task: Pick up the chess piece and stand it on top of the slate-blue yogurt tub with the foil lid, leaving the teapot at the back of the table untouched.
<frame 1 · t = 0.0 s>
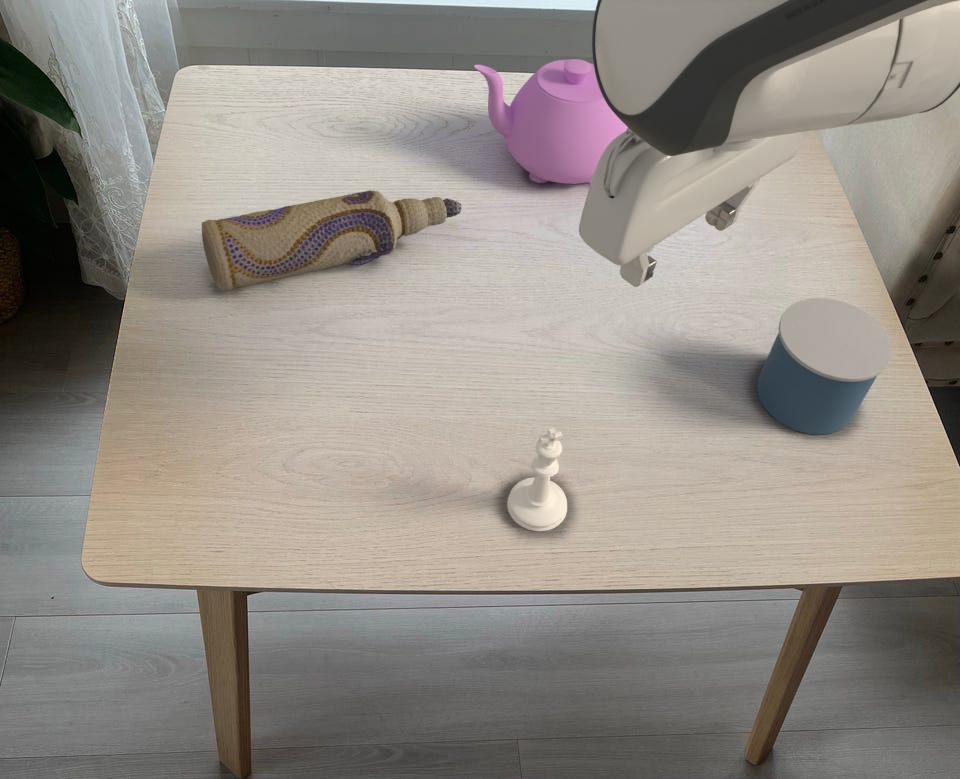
hand: (678, 249, 67), 21 cm above the table, tool pointing down, fingers open, 8 cm apart
teapot: (554, 162, 109), on the table
chess piece: (536, 507, 78), on the table
yogurt tub: (805, 396, 88), on the table
decorative bottle: (334, 264, 95), on the table
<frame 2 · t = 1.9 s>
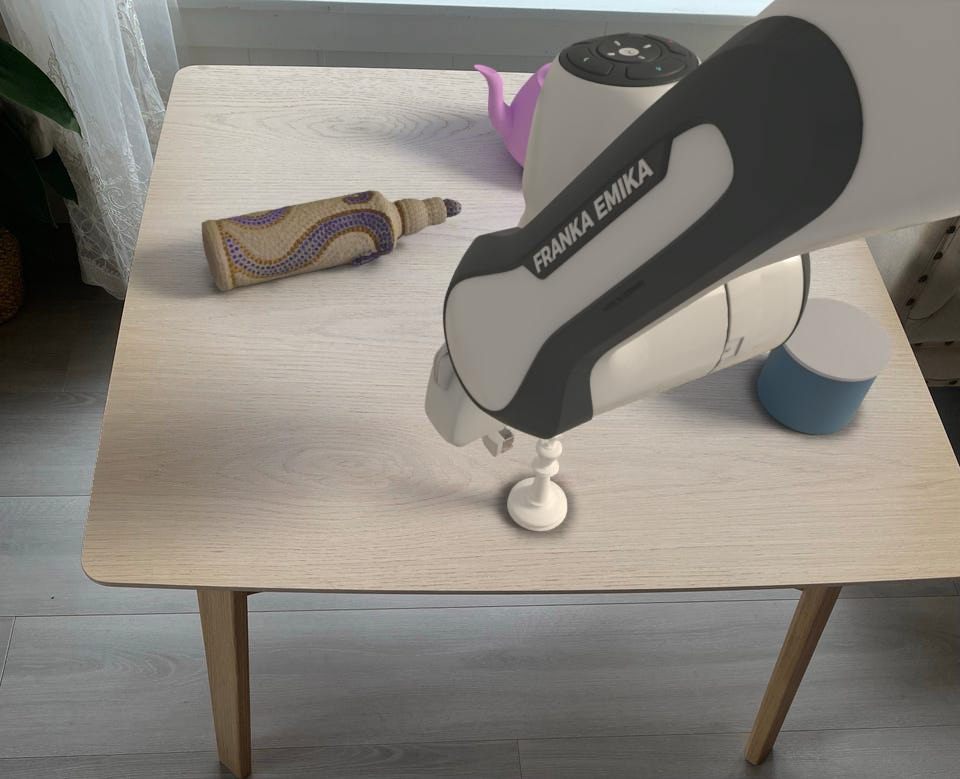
hand: (550, 421, 70), 11 cm above the table, tool pointing down, fingers open, 8 cm apart
nothing on the table moved.
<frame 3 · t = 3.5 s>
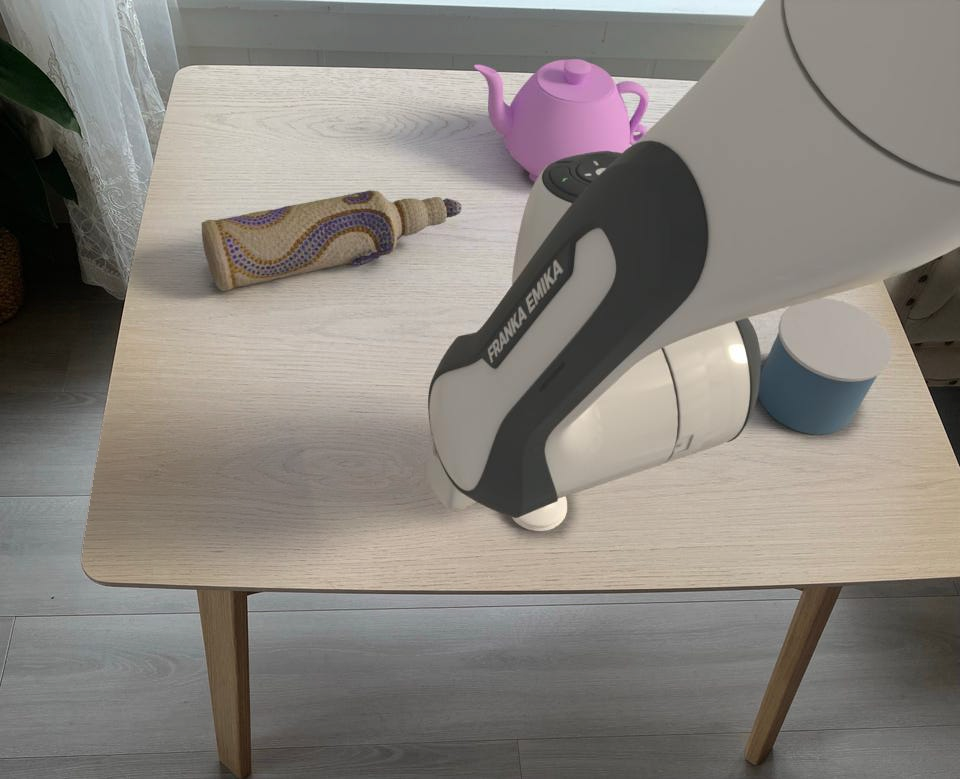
hand: (542, 480, 75), 4 cm above the table, tool pointing down, fingers closed on chess piece
chess piece: (536, 507, 78), on the table, touching gripper
everything else where it was.
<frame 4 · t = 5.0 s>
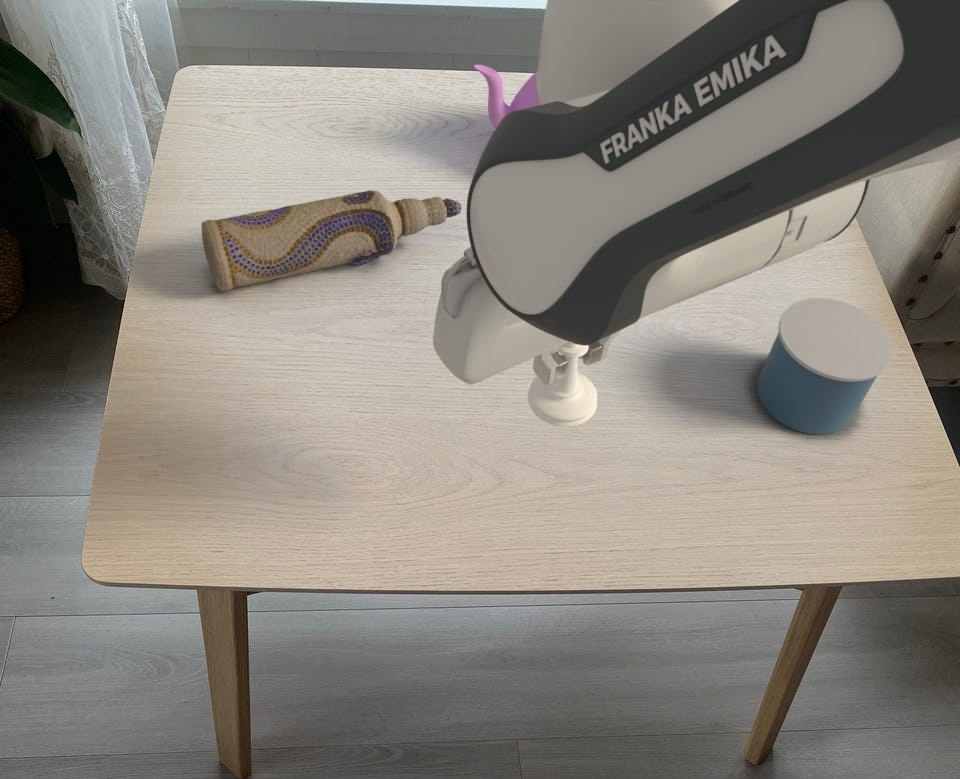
hand: (569, 365, 64), 17 cm above the table, tool pointing down, fingers closed on chess piece
chess piece: (561, 401, 67), point 14 cm above the table, touching gripper
everything else where it was.
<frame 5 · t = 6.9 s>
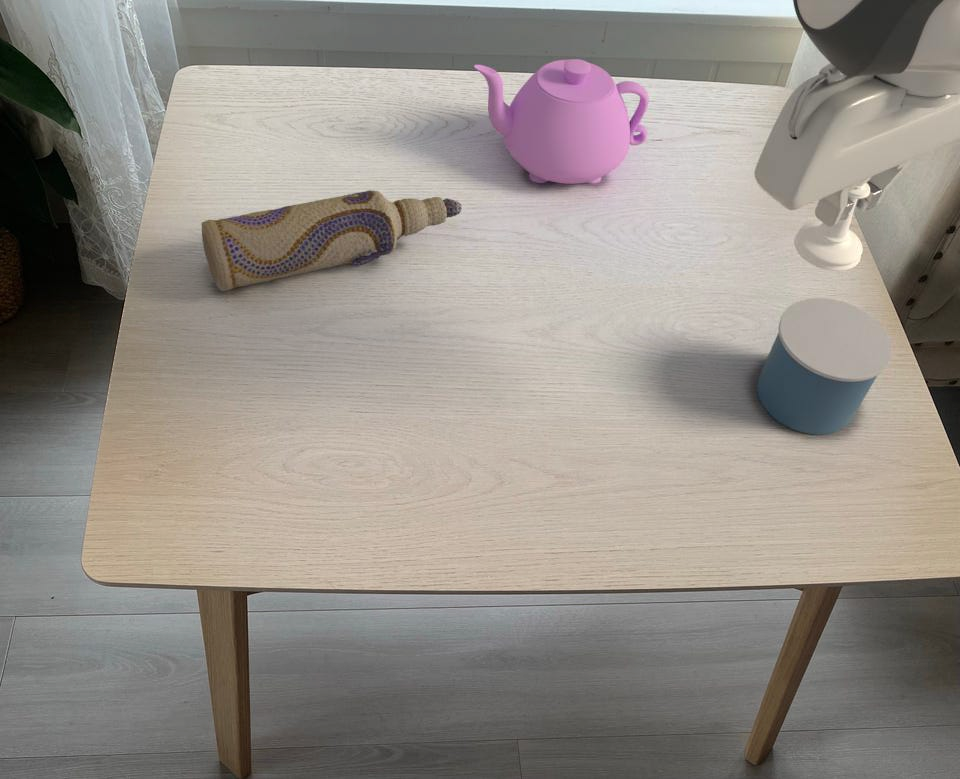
hand: (845, 211, 68), 23 cm above the table, tool pointing down, fingers closed on chess piece
chess piece: (826, 250, 71), point 20 cm above the table, touching gripper
everything else where it was.
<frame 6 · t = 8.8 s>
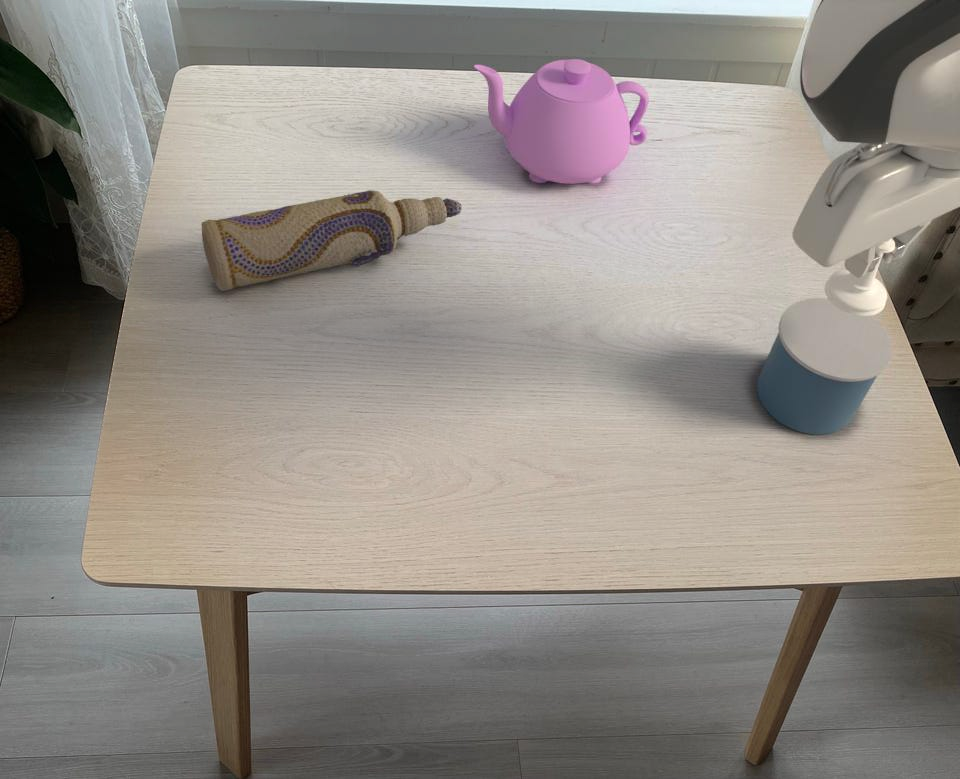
hand: (872, 263, 75), 16 cm above the table, tool pointing down, fingers closed on chess piece
chess piece: (853, 297, 78), point 13 cm above the table, touching gripper
everything else where it was.
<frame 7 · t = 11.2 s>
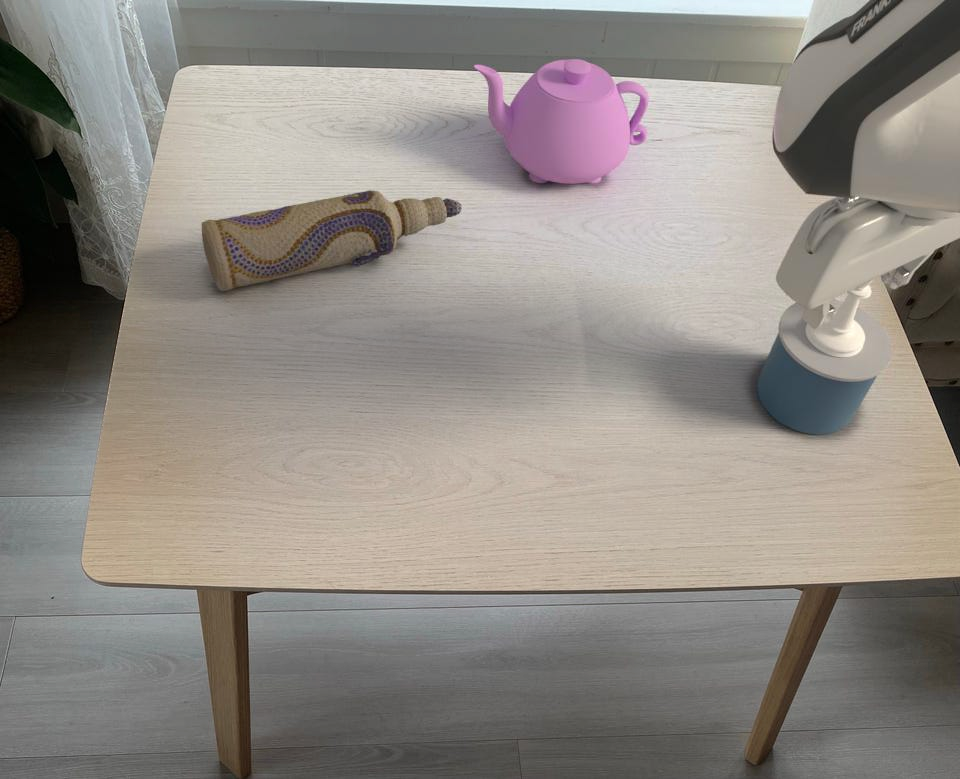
hand: (854, 301, 78), 12 cm above the table, tool pointing down, fingers open, 8 cm apart
chess piece: (833, 338, 82), point 8 cm above the table, touching yogurt tub
yogurt tub: (805, 396, 88), on the table, touching chess piece
everything else where it was.
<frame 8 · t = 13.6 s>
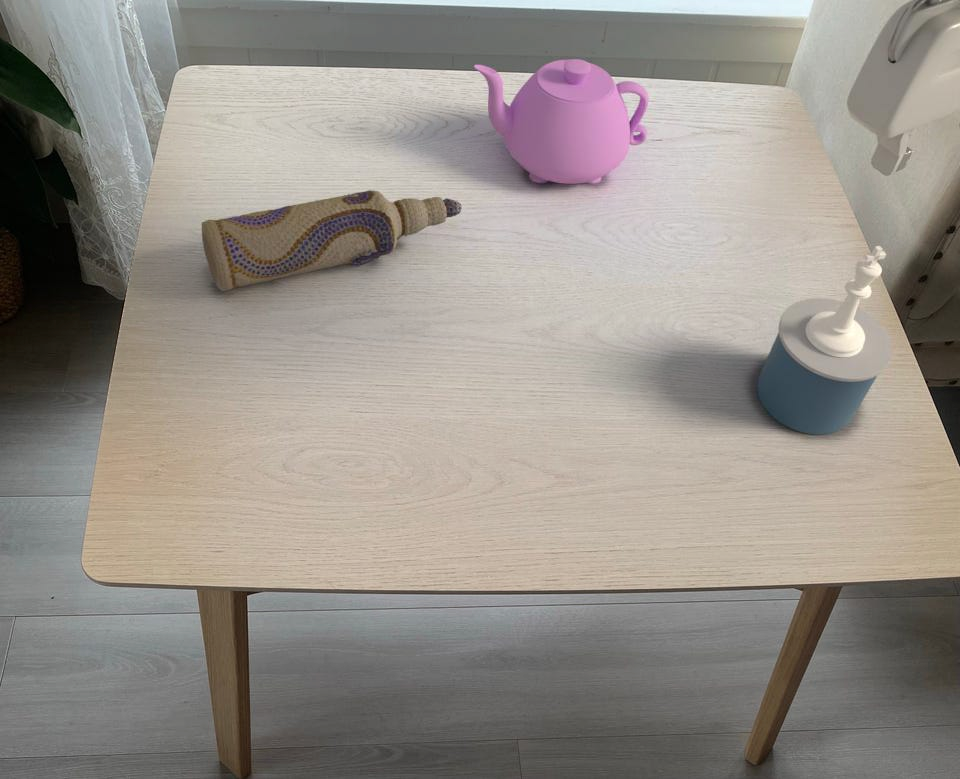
hand: (930, 149, 67), 27 cm above the table, tool pointing down, fingers open, 8 cm apart
nothing on the table moved.
at the end: chess piece 0.2 cm off-centre on the yogurt tub, point 7.8 cm above the yogurt tub's base; chess piece tilted 0°; teapot moved 0.2 cm from its start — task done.
